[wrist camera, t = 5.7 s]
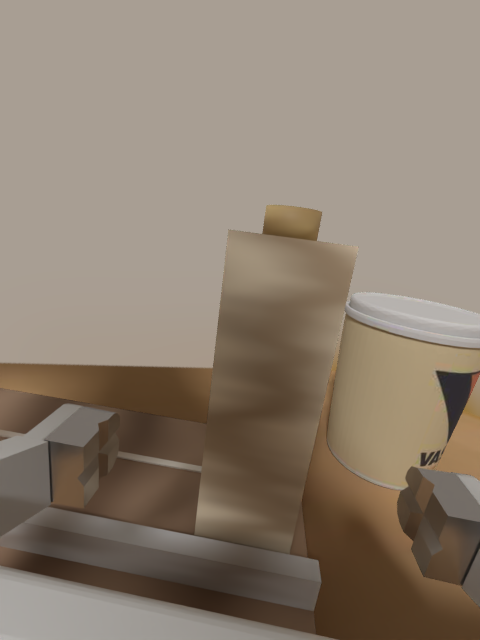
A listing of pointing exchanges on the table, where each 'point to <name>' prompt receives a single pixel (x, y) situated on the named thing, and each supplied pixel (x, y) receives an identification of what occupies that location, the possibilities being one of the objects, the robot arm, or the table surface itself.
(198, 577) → the board
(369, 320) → the coffee cup
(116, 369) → the table surface
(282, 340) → the beige tall block
